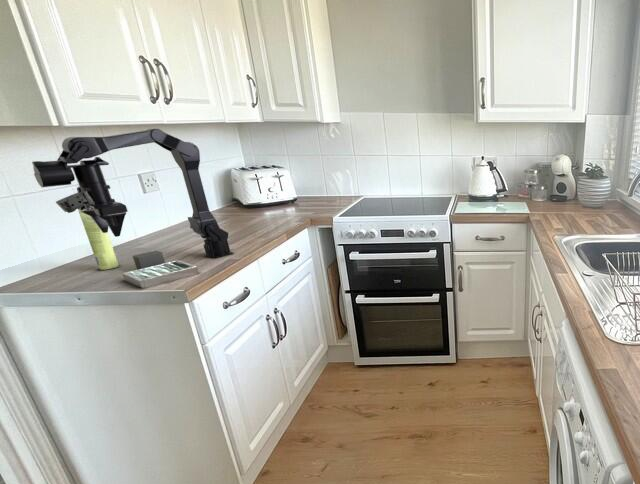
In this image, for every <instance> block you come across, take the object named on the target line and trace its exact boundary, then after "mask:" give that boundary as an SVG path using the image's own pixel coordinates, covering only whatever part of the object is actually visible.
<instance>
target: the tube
mask: <svg viewBox="0 0 640 484" xmlns="http://www.w3.org/2000/svg"><path fill="white" fill-rule="evenodd" d="M77 210H78V209H77ZM81 211H84V210H78V211H77V212H78V214H79V217H80V219H81V222H82V225H83V228H84V231H85V234H86V236H87V239H88V242H89V244H90V248H91V251H92V254H93V256H94V260H95V262H96V265H97V268H98V270H101V271H105V270H111V269H112V270H113V269H116V268H118V267H119V261H118V259H117V256H116V252H115V249H114V247H113V245H112V242H111V241H112V240H111V238H110V235H109V231H108V232H107V233H103V232H102V231H101V229H100V228H99V227H98V225H97V224H96V223H95V222H94V220H93V219H92V218H91V216H89V215H87V214H84V213H82V212H81Z"/></svg>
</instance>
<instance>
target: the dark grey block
mask: <svg viewBox="0 0 640 484" xmlns="http://www.w3.org/2000/svg"><path fill="white" fill-rule="evenodd" d="M164 257H165V256H164V254H163V252H162V251H158V250H153V251H147V252H143V253H139V254H133V255H132V259H133V262H134V265H135V268H136V270H138V269H142V268H146V267H150V266H155V265H159V264H163V263H166V260H165V258H164Z"/></svg>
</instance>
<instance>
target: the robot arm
mask: <svg viewBox="0 0 640 484" xmlns="http://www.w3.org/2000/svg"><path fill="white" fill-rule="evenodd" d="M152 143H154V144H156V145H158V146H159V147H161V148H163V149H164V150H166V151H168V152H170V154H171V156H172V158H173V159H174V162H175V163H176V164H177V165H178V167H179V168H180V170H181V172H182V176H183V180H184V184H185V187H186V191H187V194H188V198H189V201H190V205H191V208H192V216H187V220H188V222H189V228H190V229H191V230H192V231H193V232H194V233H195V234H197V235H198V236H200V238H202V239H203V248H204V252H205V254H204V255H205V256H206V257H209V258H213V259H217V258H221V257H224V256H229V255H233V254H234V252H233V251H231V249H230V245H229V241H228V239H229V232H227V231H226V230H224V229H222V228H220V226H219V223H218V221H217V219H216V218H215V217H214V215H213V214H212V212H211V210H210V207H209V204H208V201H207V197H206V193H205V189H204V186H203V181H202V177H201V174H200V170H199V168H200V162H201V154H200V148H199V147H198V146H197V145H196V144H194V143H193V142H190V141H184V140H182V139H180V138H177V137H175V136H173V135H171V134H169V133H167V132H165V131H163V130H162V129H160V128H148V129H145V130H139V131H131V132H125V133H124V132H123V133H119V134H112V135H111V134H110V135H105V136H69V137H66V138H65V139H63V140H62V143H61V147H62V151H61V153H60V154H59V156H58V158H57V159H56V160H47V161H46V160H45V161H41V160H35V161H32V162H31V163H32V167H33V172H34V173H33V175H34V178H35V181H36V182H37V183H38V185H39V187H40V188H49V187H51V188H53V187H60V186H70V185H72V182H74V181H75V180H76V182H77V184H78V186H77V187H76V192H75V193H72V194H70V195H68V196H65V197H63V198H60V199H57V200H56V201H55V203H56V205H57V206H58V207H60V209H61V210H62V211H63V212H64V213H68V214H71V213H74V212H76V210H84V211H81V212H82V213H84V214H87V215H89V216H91V218H92V219H93V220H94V222H95V223H96V224H97V225H98V227H99V228H100V229H101V231H102V232H103V233H107V232H108V233H109V230H110V231H111V234H112V235H113V236H114V237H115V238H116V237H117V238H118V237H120V236H121V233H122V230H123V229H122V228H123V224H124V220H125V218H126V215H127V212H129V211H128V207H127V206H126V204H124V203H122V202H118V201H116V200H115V198H112V196H111V193H110V189H111V185H110V184H108V183H107V181H106V178H105V176H104V173H103V171H102V168H101V166H109V165H110V162H108V161H106V160H104V159H103V158H101V157H100V156H101V155H103V154H105V153H108V152H110V151H112V150H117V149H122V148H123V149H124V148H129V147H136V146H141V145H146V144H152ZM92 158H94V159H92ZM85 159H87V160H85Z"/></svg>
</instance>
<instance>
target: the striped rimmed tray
mask: <svg viewBox="0 0 640 484" xmlns="http://www.w3.org/2000/svg"><path fill="white" fill-rule="evenodd" d="M198 274H199V270H198V267H197V265H195V264H191V263H189V262H185V261H183V260H179V259H176V260H172V261H167V262H165V263H163V264H159V265H155V266H150V267H146V268H142V269H138V270H137V269H134V270H130V271H125V272H122V273H121V275H122V278H123V280H124V282H126V283H129V284H131V285H133V286H135V287H138V288H140V289H143V290H144V289H147V288H150V287H155V286H158V285H161V284H164V283H168V282H169V283H170V282H172V281H176V280H180V279H183V278H187V277H190V276H195V275H198Z"/></svg>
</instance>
